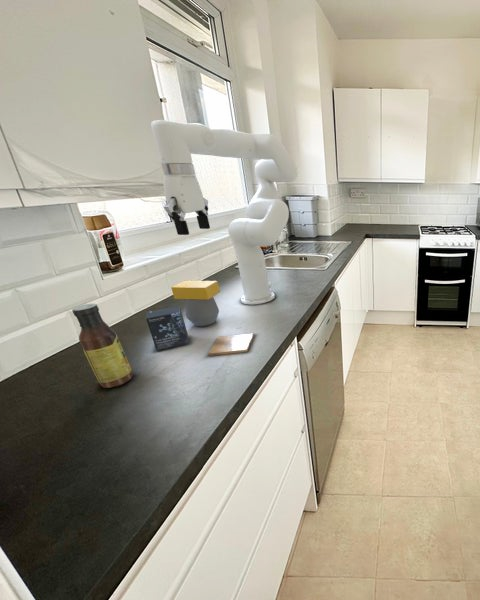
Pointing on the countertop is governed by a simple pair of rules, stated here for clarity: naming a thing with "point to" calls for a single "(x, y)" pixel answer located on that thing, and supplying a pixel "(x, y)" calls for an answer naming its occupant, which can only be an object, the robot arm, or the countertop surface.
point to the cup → (201, 311)
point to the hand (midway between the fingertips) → (194, 231)
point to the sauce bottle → (102, 347)
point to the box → (167, 328)
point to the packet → (195, 290)
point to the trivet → (231, 344)
